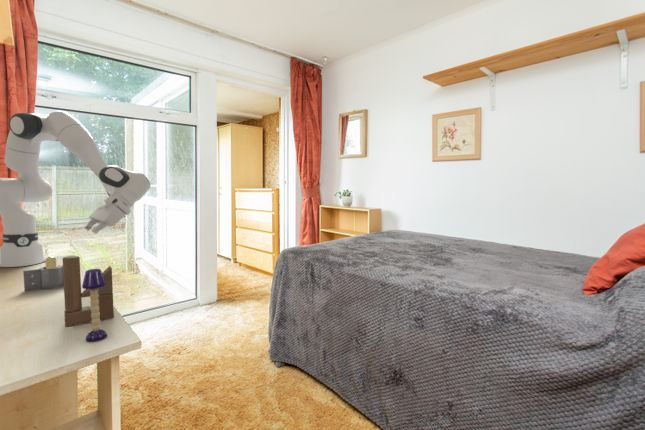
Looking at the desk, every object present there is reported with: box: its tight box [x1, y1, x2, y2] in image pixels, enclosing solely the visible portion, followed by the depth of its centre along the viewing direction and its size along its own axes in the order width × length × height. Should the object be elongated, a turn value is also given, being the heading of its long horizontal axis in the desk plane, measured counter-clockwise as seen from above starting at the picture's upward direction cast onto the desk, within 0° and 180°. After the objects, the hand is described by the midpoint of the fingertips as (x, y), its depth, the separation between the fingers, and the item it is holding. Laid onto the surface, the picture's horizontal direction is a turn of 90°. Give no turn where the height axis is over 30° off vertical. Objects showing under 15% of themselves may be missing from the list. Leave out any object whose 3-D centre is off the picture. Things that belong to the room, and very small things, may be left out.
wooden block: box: [62, 255, 115, 327], centre depth 90 cm, size 4×11×18 cm, turn 128°
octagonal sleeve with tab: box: [22, 264, 64, 292], centre depth 120 cm, size 6×15×7 cm, turn 139°
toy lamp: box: [81, 268, 108, 343], centre depth 80 cm, size 5×5×17 cm
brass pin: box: [44, 255, 57, 269], centre depth 120 cm, size 3×3×11 cm
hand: (89, 230), depth 130 cm, fingers open, 8 cm apart
